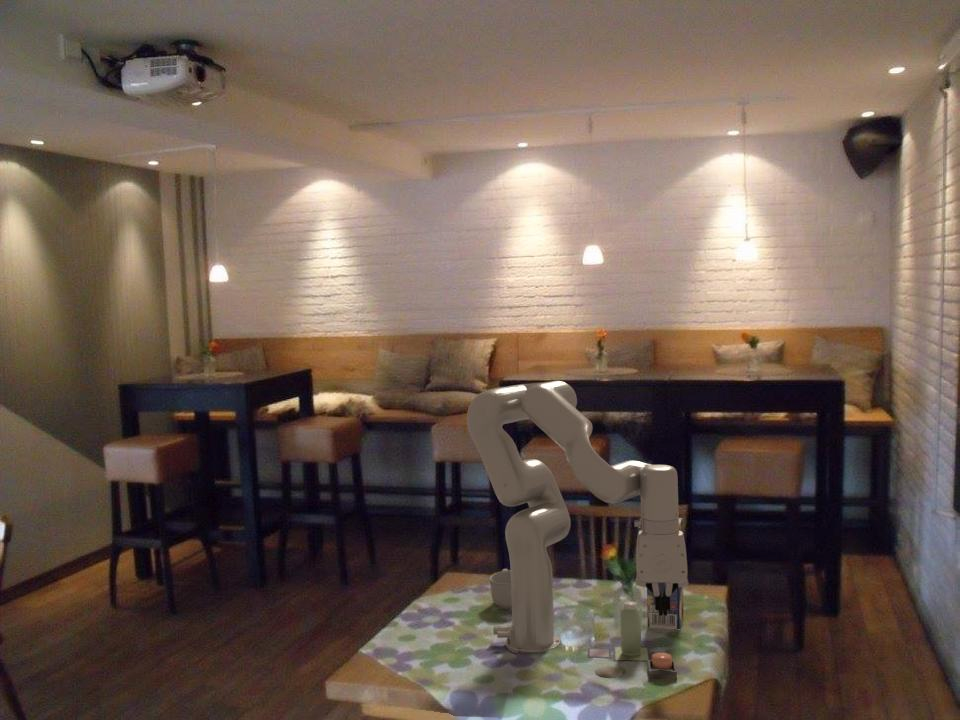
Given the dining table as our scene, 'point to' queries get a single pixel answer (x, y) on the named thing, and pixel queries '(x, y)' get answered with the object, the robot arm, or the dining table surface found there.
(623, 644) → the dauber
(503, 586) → the teacup
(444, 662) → the dining table surface
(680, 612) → the juice carton
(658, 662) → the button
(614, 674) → the colouring board
